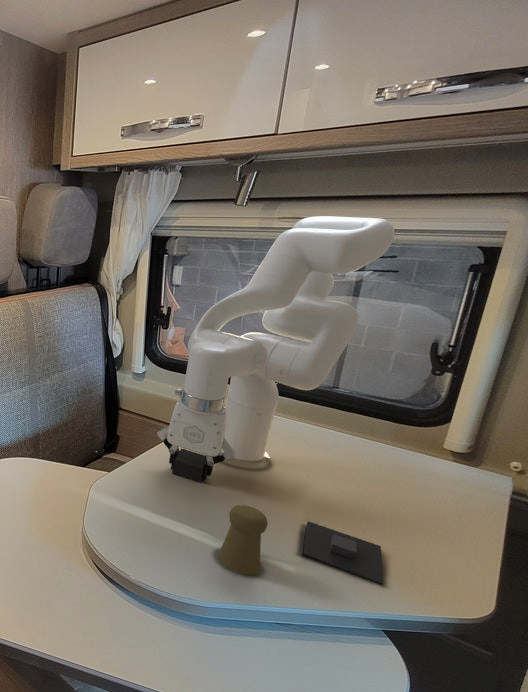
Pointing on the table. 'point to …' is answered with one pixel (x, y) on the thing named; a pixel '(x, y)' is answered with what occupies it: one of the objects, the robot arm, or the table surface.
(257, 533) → the cork
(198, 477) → the pad
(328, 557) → the base pad
